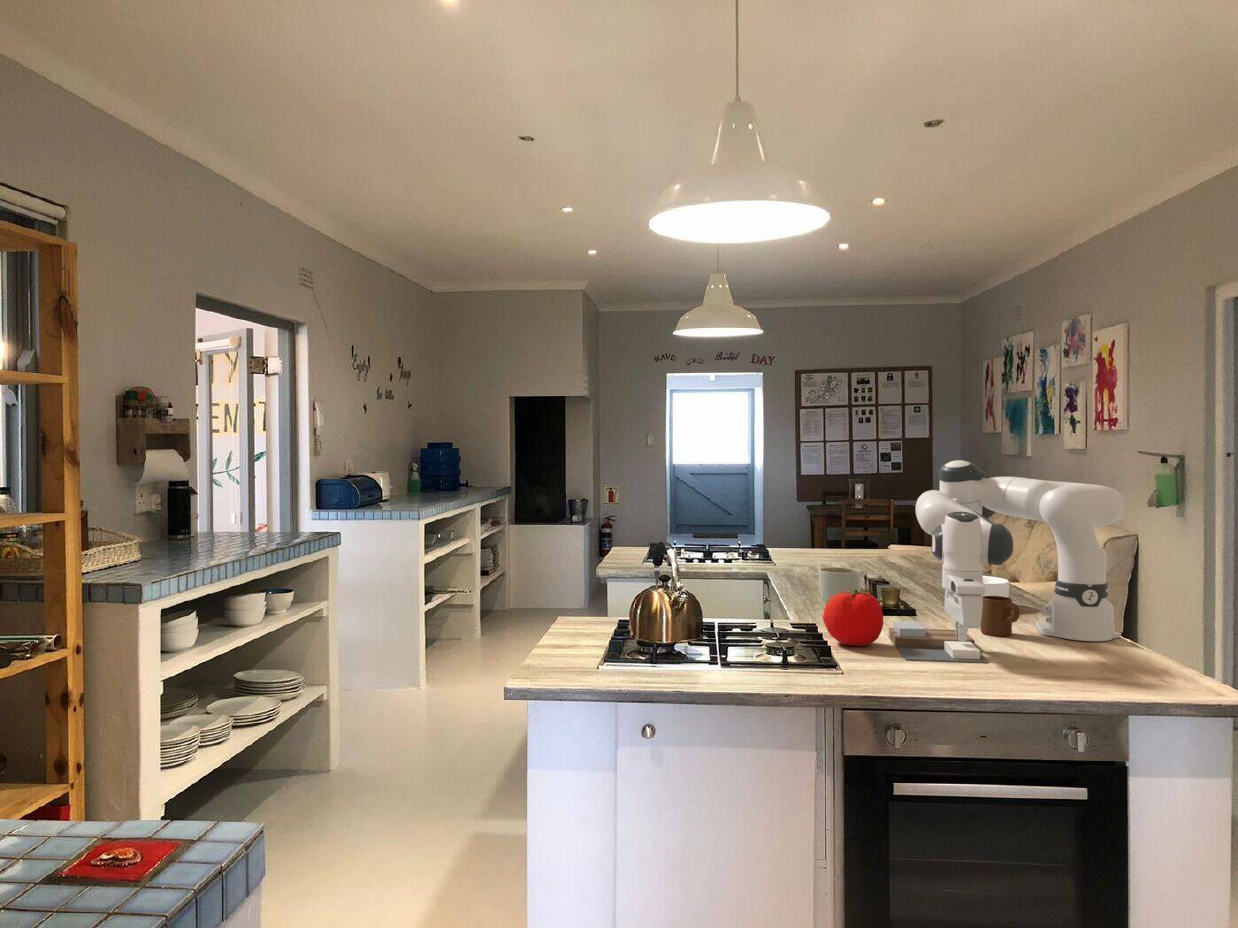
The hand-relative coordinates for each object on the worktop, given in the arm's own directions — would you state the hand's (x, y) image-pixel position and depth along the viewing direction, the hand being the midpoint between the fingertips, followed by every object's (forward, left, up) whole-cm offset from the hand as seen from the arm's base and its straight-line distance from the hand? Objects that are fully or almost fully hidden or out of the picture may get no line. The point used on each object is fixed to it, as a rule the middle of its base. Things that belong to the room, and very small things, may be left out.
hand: (961, 639), depth 210 cm
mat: (+2, -5, -3) cm, 6 cm away
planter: (-61, -21, -4) cm, 65 cm away
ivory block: (+1, 0, -3) cm, 3 cm away
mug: (-23, +16, -4) cm, 28 cm away
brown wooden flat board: (-10, -5, -3) cm, 12 cm away
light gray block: (-11, -10, -1) cm, 15 cm away
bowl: (-66, +21, -4) cm, 69 cm away
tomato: (-7, -24, -4) cm, 26 cm away
